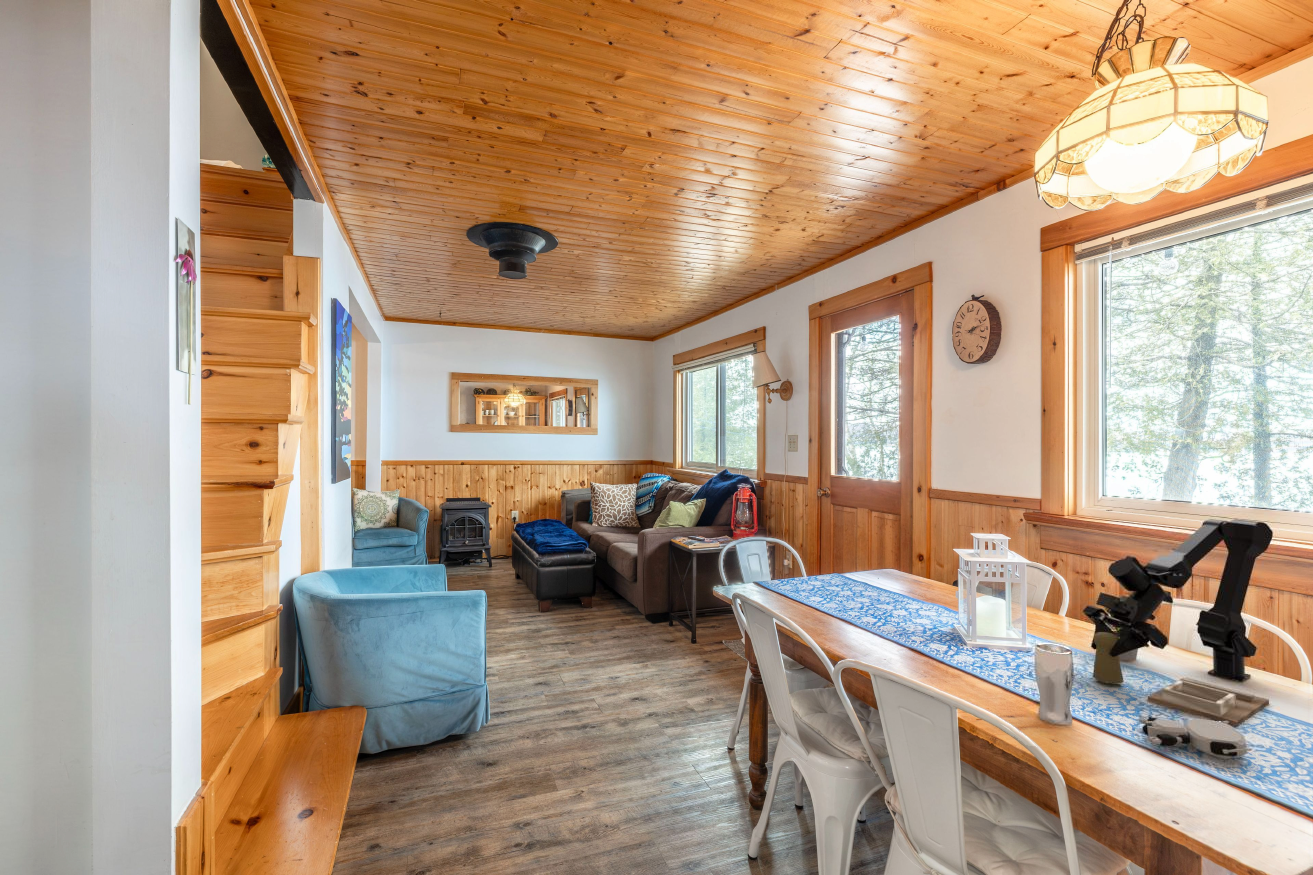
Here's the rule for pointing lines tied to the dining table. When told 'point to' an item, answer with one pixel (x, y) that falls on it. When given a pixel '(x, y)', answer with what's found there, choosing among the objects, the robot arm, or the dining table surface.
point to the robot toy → (1197, 736)
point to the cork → (1106, 659)
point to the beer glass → (1054, 682)
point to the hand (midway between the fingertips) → (1101, 651)
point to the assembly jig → (1209, 700)
